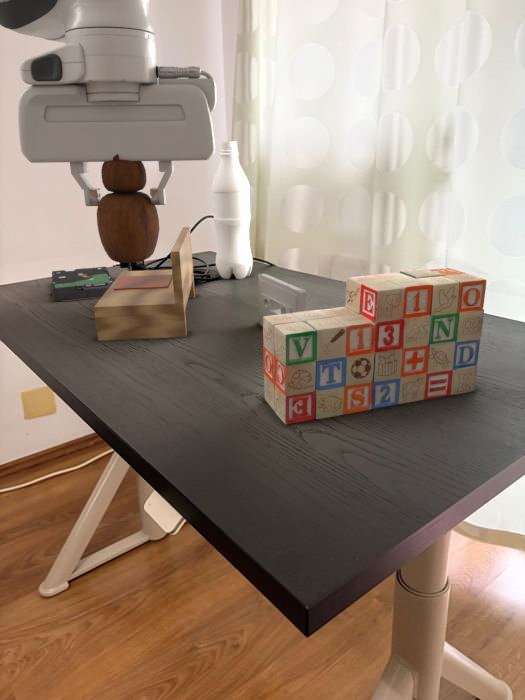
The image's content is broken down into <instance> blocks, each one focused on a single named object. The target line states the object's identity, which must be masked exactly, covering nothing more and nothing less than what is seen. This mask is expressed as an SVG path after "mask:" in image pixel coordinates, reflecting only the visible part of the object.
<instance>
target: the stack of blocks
mask: <svg viewBox="0 0 525 700" xmlns="http://www.w3.org/2000/svg"><path fill="white" fill-rule="evenodd" d="M345 281H346V282H345V283H346V284H345V302H344V303H345V304H344V306H340V307H331V308H323V309H313V310H306V311H303V312H295V313H288V314H279V315H271V316H264V317H263V326H262V336H263V337H262V340H263V341H262V343H263V344H262V345H263V346H262V361H263V362H262V363H263V387H264V389H263V390H264V400H265V401H266V403H267V404H268V405H269V406H270V408H271V409H272V410H273V411H274V413H275V414H276V416H277V417H278V418H279V419H280V420H281V421H282V423H283V424H284V425H292V424H298V423H302V422H307V421H312V420H321V419H326V418H333V417H337V416H342V415H349V414H354V413H359V412H364V411H370V410H375V409H381V408H385V407H386V408H387V407H390V406H397V405H401V404H407V403H412V402H418V401H423V400H431V399H437V398H441V397H442V398H443V397H446V396H454V395H459V394H466V393H470V392H475V390H476V381H477V372H478V361H479V352H480V345H481V338H482V334H483V333H482V332H483V327H484V317H485V309H484V307H485V306H484V304H485V297H486V289H487V279H486V278H483V277H480V276H477V275H474V274H471V273H467V272H464V271H462V270H458V269H455V268H451V267H442V268H435V269H434V268H433V269H425V268H417V269H408V270H400V271H399V272H398V271H397V272H396V271H395V272H394V271H393V272H385V273H376V274H370V275H369V274H368V275H367V274H366V275H358V276H348V277H346V279H345Z"/></svg>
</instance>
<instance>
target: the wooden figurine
mask: <svg viewBox="0 0 525 700" xmlns="http://www.w3.org/2000/svg"><path fill="white" fill-rule="evenodd" d="M100 171H101V172H100V173H101V181H102V185H103V187H104V188H105V190H106V191H107V192H110V193H107V194H105V195H103V196H102V197H101V200H100V202H99V204H98V206H97V208H96V224H97V230H98V235H99V239H100V242H101V245H102V247H103V250H104V252H105V253H106V255H107V257H108V258H109V259H110V260H111V261H113V262H116V263H121V264H133V263H135V264H136V263H140V262H144V261H145V260H147V259H150V258H151V257H152V256H153V255H154V253H155V251H156V247H157V245H158V241H159V235H160V218H159V213H158V208H157V206H156V205H151V198H152V197H151V196H150V195H149V194H147V193H145V192H143V191H142V190H144V188H145V187H146V185H147V171H146V167H145V164H144V163H143V161H128V160H119V156H118V154H117V155H115V156H114V157H113V160H111V161H107V162H102V165H101V170H100Z"/></svg>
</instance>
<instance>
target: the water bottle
mask: <svg viewBox="0 0 525 700" xmlns="http://www.w3.org/2000/svg"><path fill="white" fill-rule="evenodd" d="M219 146H220V150H219V151H220V153H219V154H218V155H219V156H220V162H219V166H218V168H217V171H216V172H215V175H214V177H213V180H212V183H211V195H212V196H211V197H212V211H213V212H212V213H213V222H214V226H215V232H216V234H215V235H216V254H215V267H216V270H217V273H218V274H219V276H220V277H221V279H224V280H229V279H230V278H231V277H232V275H234V277H235V279H236V280H241V279H245V278H246V277H249V276H250V275H251V273H252V270H253V255H252V252H251V251H252V250H251V245H250V223H251V218H252V217H251V197H250V193H251V192H250V190H251V186H250V181H249V180H248V177H247V176H246V173H245V171H244V170H243V168H242V166H241V164H240V160H239V155H240V153H239V152H238V151H239V150H238V141H236V140H232V141H230V140H227V141H220V145H219Z"/></svg>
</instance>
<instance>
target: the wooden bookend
mask: <svg viewBox="0 0 525 700" xmlns="http://www.w3.org/2000/svg"><path fill="white" fill-rule="evenodd" d="M191 233H192V232H191V227H190V226H183V227H182V228H181V231H180V233H179V234H178V237H177V238H176V240H175V242H174V245H173V246H172V248H171V250H170V262H171V269H150V270H149V269H148V270H147V269H146V270H145V269H143V270H124V271H123V270H122V271H121V272H120V273H119V275H118V276H117V277H116V278H115V279H114V281H112V282H113V283H112V285H111V286H110V287H109V289H108V290H107V291H106V292H105V294H104V295H103V296H102V297H100V299H99V300H98V301H97V302H96V303H95V305H94V306H93V312H94V319H95V327H96V334H97V341H98V342H100V341H101V342H103V341H121V340H123V341H125V340H142V339H143V340H145V339H146V340H147V339H148V340H149V339H167V338H168V339H169V338H186V337H187V335H188V328H187V317H186V315H187V314H186V309H187V304H188V301H189V299H195V298H196V292H195V291H196V290H195V279H194V277H195V276H194V262H193V249H192V247H193V246H192V235H191Z"/></svg>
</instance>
